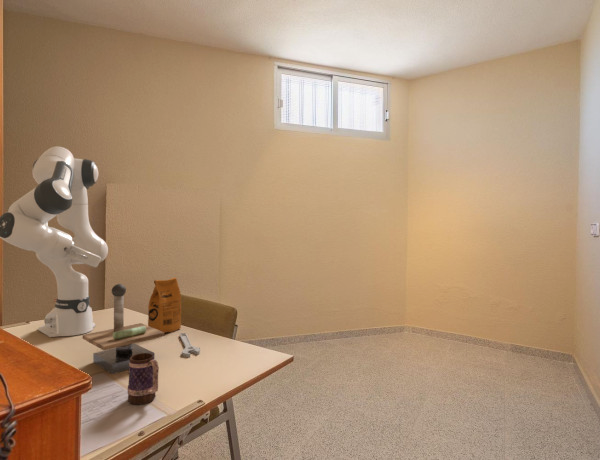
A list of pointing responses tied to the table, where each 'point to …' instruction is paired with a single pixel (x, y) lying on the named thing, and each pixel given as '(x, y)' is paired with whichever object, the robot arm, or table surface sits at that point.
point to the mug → (142, 378)
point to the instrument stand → (118, 357)
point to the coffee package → (165, 306)
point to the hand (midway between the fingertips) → (94, 260)
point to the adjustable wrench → (188, 346)
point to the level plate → (110, 343)
